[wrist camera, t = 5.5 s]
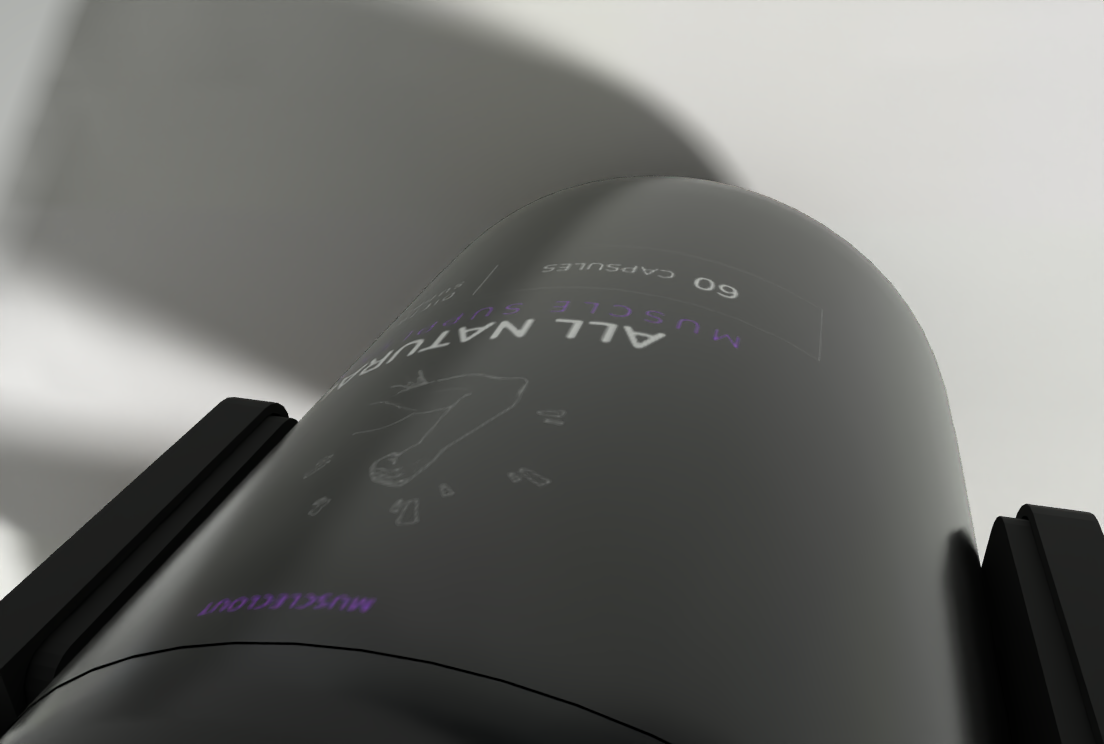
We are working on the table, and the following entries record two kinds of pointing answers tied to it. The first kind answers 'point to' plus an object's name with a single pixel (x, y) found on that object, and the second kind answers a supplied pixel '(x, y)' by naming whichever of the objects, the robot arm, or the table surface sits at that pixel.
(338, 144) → the table surface
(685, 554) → the supplement bottle
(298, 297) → the table surface
